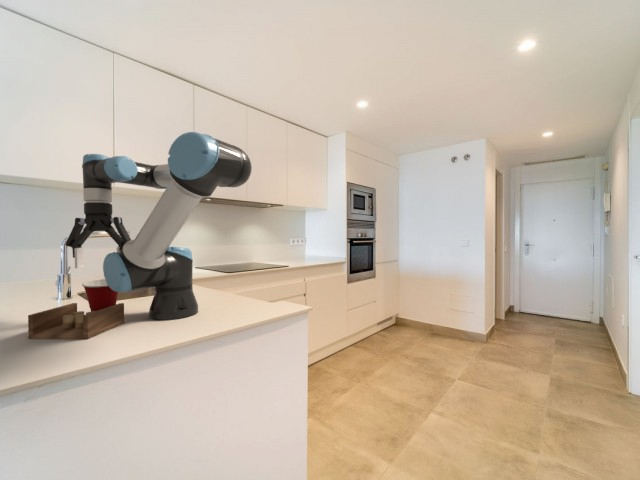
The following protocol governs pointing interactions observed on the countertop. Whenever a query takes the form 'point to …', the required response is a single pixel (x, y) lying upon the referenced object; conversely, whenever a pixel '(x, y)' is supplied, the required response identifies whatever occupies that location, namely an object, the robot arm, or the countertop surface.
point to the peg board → (90, 322)
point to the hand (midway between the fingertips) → (100, 267)
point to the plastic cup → (99, 294)
